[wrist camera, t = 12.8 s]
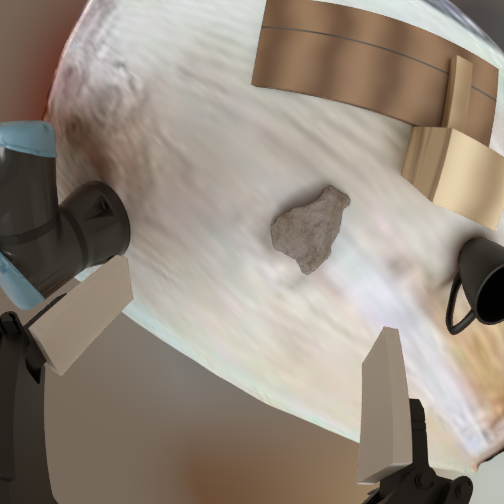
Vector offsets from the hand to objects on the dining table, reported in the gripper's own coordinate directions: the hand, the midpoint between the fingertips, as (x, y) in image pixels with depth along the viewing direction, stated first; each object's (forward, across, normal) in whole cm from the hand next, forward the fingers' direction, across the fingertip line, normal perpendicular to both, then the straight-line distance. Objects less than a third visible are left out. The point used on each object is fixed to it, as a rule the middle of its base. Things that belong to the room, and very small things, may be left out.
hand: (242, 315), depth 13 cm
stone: (+23, +3, -3) cm, 23 cm away
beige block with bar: (+22, +15, +13) cm, 30 cm away
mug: (+22, +25, -3) cm, 33 cm away
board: (+22, +7, +18) cm, 29 cm away
